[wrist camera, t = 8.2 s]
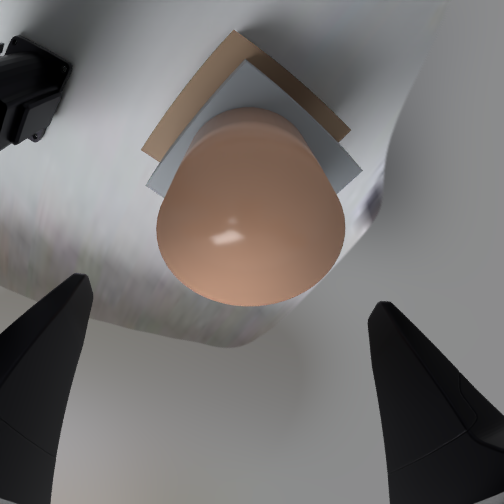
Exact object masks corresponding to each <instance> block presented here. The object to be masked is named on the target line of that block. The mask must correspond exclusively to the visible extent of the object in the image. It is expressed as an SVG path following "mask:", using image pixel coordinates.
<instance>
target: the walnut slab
mask: <svg viewBox="0 0 504 504" xmlns="http://www.w3.org/2000/svg"><path fill="white" fill-rule="evenodd" d="M245 59H246V60H247V61H249V62H250V63H251V64H252V65H254V66H255V67H256V68H257V69H259V70H260V71H261V72H262V73H263V74H265V75H266V76H267V77H268V78H269V79H271V80H272V81H273V82H274V83H275V84H277V85H278V86H279V87H280V88H281V89H282V90H283V91H285V92H286V93H287V94H288V95H289V96H290V97H291V98H293V99H294V100H295V101H296V102H297V103H298V104H299V105H300V106H301V107H302V108H303V109H305V110H306V111H307V112H308V113H309V114H310V115H311V116H312V117H313V118H314V119H315V120H316V121H317V122H318V123H319V124H320V125H321V126H322V127H323V128H324V129H325V130H326V131H327V132H328V133H329V134H330V135H331V136H332V137H333V138H334V139H335V140H336V141H337V142H339V141H340V140H341V139H343V138H344V137H345V136H346V135H347V134H348V133H349V132H350V131H351V129H350V128H349V127H348V126H347V125H346V124H345V123H344V122H343V121H342V120H341V119H340V118H339V117H338V116H337V115H336V114H335V113H334V112H333V111H332V110H331V109H329V108H328V107H327V106H326V105H325V104H324V103H323V102H322V101H321V100H320V99H319V98H318V97H317V96H316V95H315V94H313V93H312V92H311V91H310V90H309V89H308V88H307V87H306V86H305V85H303V84H302V83H301V82H300V81H299V80H298V79H297V78H295V77H294V76H293V75H292V74H291V73H290V72H288V71H287V70H286V69H285V68H284V67H282V66H281V65H280V64H279V63H277V62H276V61H275V60H274V59H272V58H271V57H270V56H269V55H267V54H266V53H265V52H264V51H262V50H261V49H260V48H258V47H257V46H256V45H254V44H253V43H252V42H250V41H249V40H248V39H246V38H245V37H243V36H242V35H241V34H239V33H238V32H236V31H235V30H233V31H232V32H231V33H230V34H229V35H228V36H227V37H226V39H225V40H224V41H223V42H222V43H221V44H220V45H219V46H218V48H217V49H216V50H215V51H214V52H213V53H212V54H211V56H210V57H209V58H208V59H207V60H206V62H205V63H204V64H203V65H202V66H201V68H200V69H199V70H198V71H197V73H196V74H195V75H194V76H193V78H192V79H191V80H190V81H189V83H188V84H187V85H186V86H185V88H184V89H183V90H182V92H181V93H180V94H179V96H178V97H177V98H176V100H175V101H174V102H173V104H172V105H171V106H170V108H169V109H168V111H167V112H166V113H165V115H164V116H163V118H162V119H161V120H160V122H159V123H158V125H157V126H156V128H155V129H154V131H153V132H152V134H151V135H150V137H149V138H148V140H147V141H146V143H145V144H144V146H143V147H142V149H141V150H142V151H143V152H145V153H146V154H148V155H149V156H151V157H153V158H154V159H156V160H157V161H159V162H161V160H162V158H163V157H164V155H165V154H166V152H167V151H168V150H169V148H170V147H171V146H172V144H173V143H174V142H175V140H176V139H177V138H178V136H179V135H180V134H181V133H182V131H183V130H184V129H185V128H186V126H187V125H188V124H189V123H190V121H191V120H192V119H193V118H194V116H195V115H196V114H197V113H198V111H199V110H200V109H201V108H202V107H203V105H204V104H205V103H206V102H207V101H208V100H209V98H210V97H211V96H212V95H213V94H214V93H215V91H216V90H217V89H218V88H219V87H220V86H221V85H222V84H223V82H224V81H225V80H226V79H227V78H228V77H229V76H230V75H231V74H232V72H233V71H234V70H235V69H236V68H237V67H238V66H239V65H240V64H241V63H242V62H243V61H244V60H245Z"/></svg>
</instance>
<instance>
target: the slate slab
mask: <svg viewBox="0 0 504 504" xmlns="http://www.w3.org/2000/svg"><path fill="white" fill-rule="evenodd" d="M242 107H255V108H262V109H266V110H270V111H272V112H275V113H277V114H279V115H281V116H283V117H284V118H286V119H287V120H289V121H290V122H291V123H292V124H293V125H294V126H295V127H296V128H297V129H298V130H299V132H300V133H301V134H302V136H303V137H304V139H305V141H306V142H307V144H308V146H309V147H310V149H311V151H312V152H313V154H314V156H315V157H316V159H317V161H318V163H319V164H320V166H321V168H322V169H323V171H324V173H325V175H326V177H327V178H328V180H329V182H330V184H331V186H332V187H333V189H334V191H335V193H336V194H337V193H338V192H339V191H341V190H342V189H343V188H344V187H345V186H346V185H347V184H348V183H350V182H351V181H352V180H353V179H354V178H355V177H356V176H357V175H358V174H360V173H361V172H362V171H363V170H362V169H361V168H360V167H359V166H358V164H357V163H356V162H355V161H354V160H353V159H352V157H351V156H350V155H349V154H348V153H347V152H346V151H345V149H344V148H343V147H342V146H341V145H340V144H339V143H338V142H337V141H336V140H335V139H334V138H333V137H332V136H331V135H330V134H329V133H328V132H327V131H326V130H325V129H324V128H323V127H322V126H321V125H320V124H319V123H318V122H317V121H316V120H315V119H314V118H313V117H312V116H311V115H310V114H309V113H308V112H307V111H306V110H305V109H303V108H302V107H301V106H300V105H299V104H298V103H297V102H296V101H295V100H294V99H293V98H291V97H290V96H289V95H288V94H287V93H286V92H285V91H283V90H282V89H281V88H280V87H279V86H278V85H277V84H275V83H274V82H273V81H272V80H271V79H269V78H268V77H267V76H266V75H265V74H263V73H262V72H261V71H260V70H259V69H257V68H256V67H255V66H254V65H252V64H251V63H250V62H249V61H247V60H246V59H245V60H244V61H243V62H242V63H241V64H240V65H239V66H238V67H237V68H236V69H235V70H234V71H233V72H232V74H231V75H230V76H229V77H228V78H227V79H226V80H225V81H224V82H223V84H222V85H221V86H220V87H219V88H218V89H217V90H216V91H215V93H214V94H213V95H212V96H211V97H210V98H209V100H208V101H207V102H206V103H205V104H204V105H203V107H202V108H201V109H200V110H199V111H198V113H197V114H196V115H195V116H194V118H193V119H192V120H191V121H190V123H189V124H188V125H187V126H186V128H185V129H184V130H183V131H182V133H181V134H180V135H179V136H178V138H177V139H176V140H175V142H174V143H173V144H172V146H171V147H170V148H169V150H168V151H167V152H166V154H165V155H164V157H163V158H162V160H161V162H160V163H159V165H158V166H157V168H156V169H155V171H154V173H153V174H152V176H151V178H150V179H149V181H148V183H147V184H146V186H147V187H149V188H150V189H152V190H153V191H154V192H156V193H157V194H159V195H160V196H162V197H163V198H165V196H166V193H167V191H168V189H169V187H170V185H171V183H172V180H173V178H174V176H175V174H176V172H177V170H178V168H179V166H180V163H181V161H182V159H183V157H184V155H185V153H186V151H187V149H188V147H189V145H190V143H191V141H192V139H193V137H194V136H195V134H196V133H197V132H198V130H199V129H200V128H201V127H202V126H203V125H204V124H205V123H206V122H207V121H209V120H210V119H211V118H213V117H215V116H216V115H218V114H220V113H222V112H225V111H228V110H231V109H235V108H242Z"/></svg>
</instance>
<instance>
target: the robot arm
mask: <svg viewBox="0 0 504 504" xmlns="http://www.w3.org/2000/svg"><path fill="white" fill-rule="evenodd" d="M16 40H17V44H16V43H15V42H16ZM3 47H4V43H0V53H2V51H3ZM64 66H66V68H67V69H66V71H64V69H63V68H64ZM71 71H72V64H71V63H70V62H69V61H67V60H65V59H63V58H62V57H60V56H58V55H56V54H54V53H53V52H51V51H49V50H47V49H45V48H43V47H41V46H39V45H38V44H36V43H34V42H32V41H30V40H28V39H26V38H24V37H22V36H14V37H13V38H12V39H11V41H10V43H9V46H8V48H7V50H6V53H5V55H4V56H0V151H1V150H2V149H4V148H5V147H7V146H8V145H10V144H11V143H12V144H14V145H17V144H19V143H21V142H22V141H24V140H25V139H27V138H28V139H30V140H31V141H33V142H38V141H39V140H41V139H42V137H43V134H44V131H45V129H46V127H47V126H48V125H49V124H50V122H51V120H52V117H53V115H54V113H55V110H56V108H57V106H58V103H59V101H60V99H61V97H62V89H63V87H64V85H65V83H66V81H67V79H68V77H69V75H70V73H71ZM35 133H36V134H37V137H36V135H35ZM92 302H93V292H92V288H91V285H90V281H89V278H88V276H87V275H86V274H81V273H74V274H73V275H71V276H70V277H69V278H67V279H66V280H65V281H63V282H62V283H61V284H60V285H58V286H57V287H56V288H55V289H53V290H52V291H51V292H49V293H48V294H47V295H46V296H44V297H43V298H42V299H41V300H40V301H38V302H37V303H36V304H35V305H33V306H32V307H31V308H30V309H29V310H27V311H26V312H25V313H24V314H23V315H22V316H20V317H19V318H18V319H17V320H16V321H15V322H13V323H12V324H11V325H10V326H9V327H8V328H7V329H5V330H4V331H3V332H2V333H1V334H0V504H50V502H51V492H52V484H53V483H52V482H53V475H54V469H55V462H56V455H57V449H58V444H59V438H60V433H61V428H62V423H63V419H64V414H65V410H66V405H67V401H68V397H69V393H70V389H71V385H72V382H73V377H74V374H75V371H76V367H77V364H78V360H79V357H80V353H81V350H82V347H83V343H84V338H85V334H86V329H87V324H88V320H89V315H90V311H91V307H92ZM368 332H369V341H370V352H371V361H372V369H373V375H374V380H375V385H376V391H377V397H378V403H379V409H380V416H381V423H382V430H383V437H384V445H385V453H386V462H387V472H388V485H389V498H390V504H504V415H502V413H500V412H499V411H498V410H497V409H496V408H495V407H494V406H493V405H492V404H491V403H490V402H489V401H488V400H487V399H486V398H485V397H484V396H483V395H482V394H481V393H479V391H478V390H476V389H475V388H474V386H473V385H472V384H471V383H470V382H469V381H468V380H467V379H466V378H465V377H464V376H463V375H462V374H461V373H460V372H459V371H458V369H457V368H456V367H455V366H454V365H453V364H452V363H451V362H450V361H449V360H448V359H447V358H446V357H445V356H444V355H443V354H442V353H441V351H440V350H439V349H438V348H437V347H436V346H435V345H434V344H433V343H432V342H431V341H430V340H429V339H428V338H427V337H426V336H425V335H424V334H423V333H422V332H421V331H420V330H419V329H418V328H417V327H416V326H415V325H414V324H413V323H412V322H411V321H410V320H409V319H408V318H407V317H406V316H405V315H404V314H403V313H402V312H401V311H400V310H399V309H398V308H397V307H395V305H393V304H392V303H391V302H388V301H387V302H386V301H380V302H378V303H377V305H376V306H375V308H374V310H373V311H372V313H371V315H370V317H369V319H368Z"/></svg>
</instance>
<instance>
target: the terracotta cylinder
mask: <svg viewBox="0 0 504 504" xmlns="http://www.w3.org/2000/svg"><path fill="white" fill-rule="evenodd" d="M156 231H157V241H158V246H159V249H160V252H161V255H162V257H163V259H164V261H165V263H166V265H167V266H168V268H169V269H170V270H171V272H172V273H173V274H174V275H175V276H176V277H177V278H178V279H179V280H180V281H181V282H182V283H183V284H184V285H186V286H187V287H188V288H190V289H191V290H193V291H194V292H196V293H198V294H200V295H202V296H204V297H206V298H208V299H211V300H214V301H217V302H221V303H224V304H230V305H236V306H262V305H269V304H274V303H278V302H282V301H285V300H288V299H290V298H293V297H295V296H297V295H299V294H301V293H303V292H305V291H307V290H308V289H310V288H311V287H313V286H314V285H315V284H316V283H318V282H319V281H320V280H321V279H322V278H323V277H324V276H325V275H326V274H327V273H328V272H329V271H330V269H331V268H332V266H333V265H334V264H335V262H336V260H337V258H338V256H339V254H340V252H341V249H342V246H343V242H344V237H345V218H344V213H343V209H342V206H341V203H340V201H339V199H338V197H337V195H336V193H335V191H334V189H333V187H332V186H331V184H330V182H329V180H328V178H327V177H326V175H325V173H324V171H323V169H322V168H321V166H320V164H319V163H318V161H317V159H316V157H315V156H314V154H313V152H312V151H311V149H310V147H309V146H308V144H307V142H306V141H305V139H304V137H303V136H302V134H301V133H300V132H299V130H298V129H297V128H296V127H295V126H294V125H293V124H292V123H291V122H290V121H289V120H287V119H286V118H284V117H283V116H281V115H279V114H277V113H275V112H272V111H270V110H266V109H262V108H255V107H242V108H235V109H231V110H228V111H225V112H222V113H220V114H218V115H216V116H215V117H213V118H211V119H210V120H209V121H207V122H206V123H205V124H204V125H203V126H202V127H201V128H200V129H199V130H198V132H197V133H196V134H195V136H194V137H193V139H192V141H191V143H190V145H189V147H188V149H187V151H186V153H185V155H184V157H183V159H182V161H181V163H180V166H179V168H178V170H177V172H176V174H175V176H174V178H173V180H172V183H171V185H170V187H169V189H168V191H167V193H166V196H165V198H164V200H163V202H162V205H161V207H160V210H159V214H158V218H157V227H156Z"/></svg>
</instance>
